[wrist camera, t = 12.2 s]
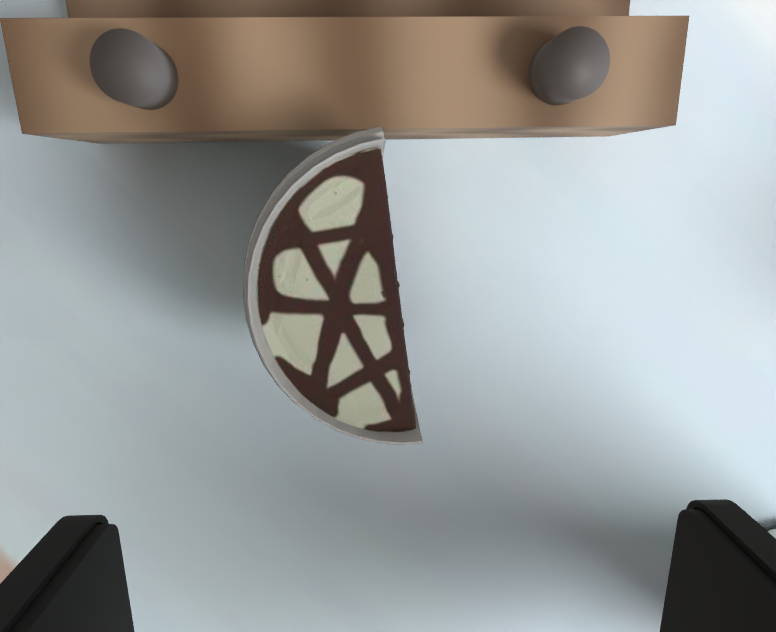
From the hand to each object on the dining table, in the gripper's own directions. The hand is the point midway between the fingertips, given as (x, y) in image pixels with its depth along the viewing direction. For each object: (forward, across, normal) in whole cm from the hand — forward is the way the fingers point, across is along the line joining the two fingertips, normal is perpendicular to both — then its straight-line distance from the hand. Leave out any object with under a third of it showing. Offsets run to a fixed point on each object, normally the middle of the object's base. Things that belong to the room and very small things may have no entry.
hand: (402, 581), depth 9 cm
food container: (+21, +2, -2) cm, 21 cm away
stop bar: (+20, +1, -14) cm, 25 cm away
